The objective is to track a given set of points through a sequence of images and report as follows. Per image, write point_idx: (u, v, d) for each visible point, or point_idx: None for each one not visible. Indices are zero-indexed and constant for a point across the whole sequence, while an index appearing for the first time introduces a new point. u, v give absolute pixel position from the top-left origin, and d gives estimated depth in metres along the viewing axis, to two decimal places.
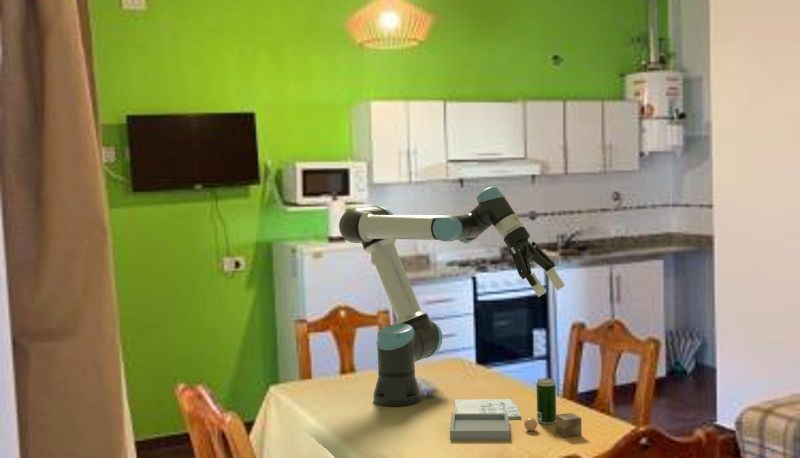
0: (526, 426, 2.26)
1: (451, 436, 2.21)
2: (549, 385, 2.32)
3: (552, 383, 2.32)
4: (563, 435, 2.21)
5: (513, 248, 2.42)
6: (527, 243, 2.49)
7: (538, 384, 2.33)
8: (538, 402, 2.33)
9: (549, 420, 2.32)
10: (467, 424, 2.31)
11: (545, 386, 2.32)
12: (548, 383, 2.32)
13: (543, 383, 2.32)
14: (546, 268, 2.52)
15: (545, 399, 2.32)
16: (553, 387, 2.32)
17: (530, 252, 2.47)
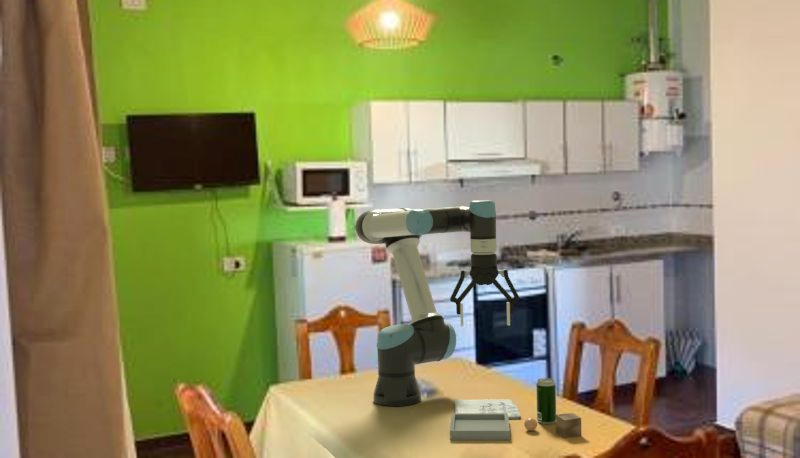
0: (526, 426, 2.26)
1: (451, 436, 2.21)
2: (549, 385, 2.32)
3: (552, 383, 2.32)
4: (563, 435, 2.21)
5: None
6: (490, 270, 2.40)
7: (538, 384, 2.33)
8: (538, 402, 2.33)
9: (549, 420, 2.32)
10: (467, 424, 2.31)
11: (545, 386, 2.32)
12: (548, 383, 2.32)
13: (543, 383, 2.32)
14: None
15: (545, 399, 2.32)
16: (553, 387, 2.32)
17: (484, 281, 2.40)
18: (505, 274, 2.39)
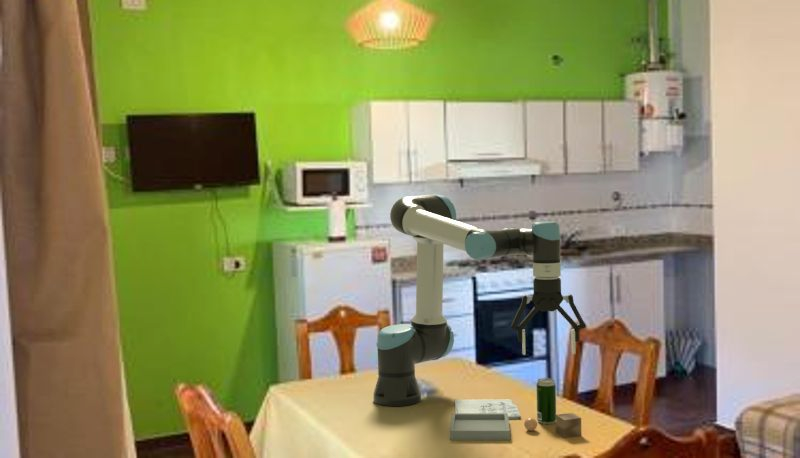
0: (526, 426, 2.26)
1: (451, 436, 2.21)
2: (549, 385, 2.32)
3: (552, 383, 2.32)
4: (563, 435, 2.21)
5: (522, 297, 2.28)
6: (554, 296, 2.27)
7: (538, 384, 2.33)
8: (538, 402, 2.33)
9: (549, 420, 2.32)
10: (467, 424, 2.31)
11: (545, 386, 2.32)
12: (548, 383, 2.32)
13: (543, 383, 2.32)
14: None
15: (545, 399, 2.32)
16: (553, 387, 2.32)
17: (548, 307, 2.27)
18: (570, 300, 2.26)
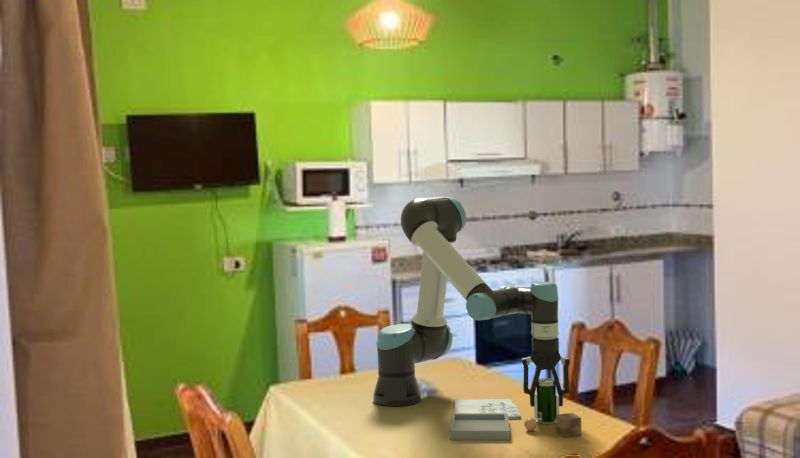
0: (526, 426, 2.26)
1: (451, 436, 2.21)
2: (549, 385, 2.32)
3: (552, 383, 2.32)
4: (563, 435, 2.21)
5: (522, 361, 2.34)
6: (553, 353, 2.32)
7: (538, 384, 2.33)
8: (538, 402, 2.33)
9: (549, 420, 2.32)
10: (467, 424, 2.31)
11: (545, 386, 2.32)
12: (548, 383, 2.32)
13: (543, 383, 2.32)
14: None
15: (545, 399, 2.32)
16: (553, 387, 2.32)
17: (546, 366, 2.33)
18: (566, 363, 2.32)
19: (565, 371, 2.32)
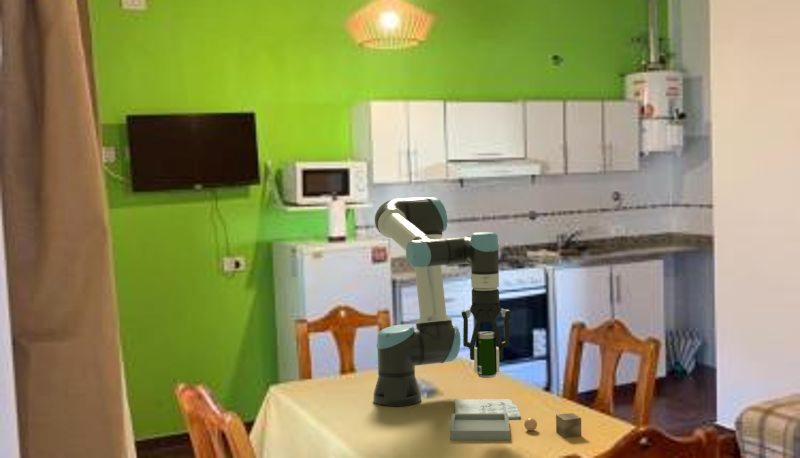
0: (526, 426, 2.26)
1: (451, 436, 2.21)
2: (489, 338, 2.25)
3: (492, 336, 2.26)
4: (563, 435, 2.21)
5: None
6: (494, 305, 2.26)
7: (478, 337, 2.27)
8: (478, 355, 2.27)
9: (489, 374, 2.26)
10: (467, 424, 2.31)
11: (485, 339, 2.25)
12: (488, 335, 2.25)
13: (483, 336, 2.26)
14: None
15: (485, 352, 2.26)
16: (493, 340, 2.26)
17: (486, 318, 2.26)
18: (506, 315, 2.26)
19: (505, 323, 2.26)
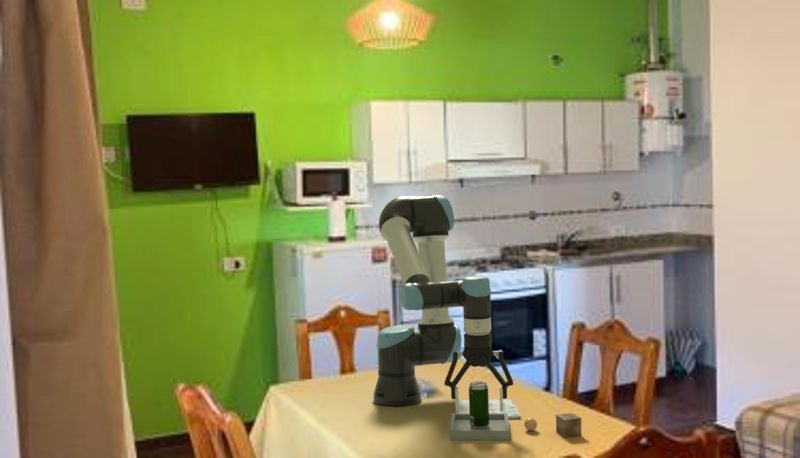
0: (526, 426, 2.26)
1: (451, 436, 2.21)
2: (481, 388, 2.25)
3: (484, 386, 2.26)
4: (563, 435, 2.21)
5: (453, 353, 2.27)
6: (485, 351, 2.26)
7: (470, 388, 2.27)
8: (470, 406, 2.27)
9: (481, 424, 2.26)
10: (467, 424, 2.31)
11: (477, 390, 2.25)
12: (480, 386, 2.25)
13: (475, 386, 2.26)
14: None
15: (477, 403, 2.26)
16: (485, 390, 2.26)
17: (478, 362, 2.26)
18: (500, 356, 2.25)
19: (502, 364, 2.26)
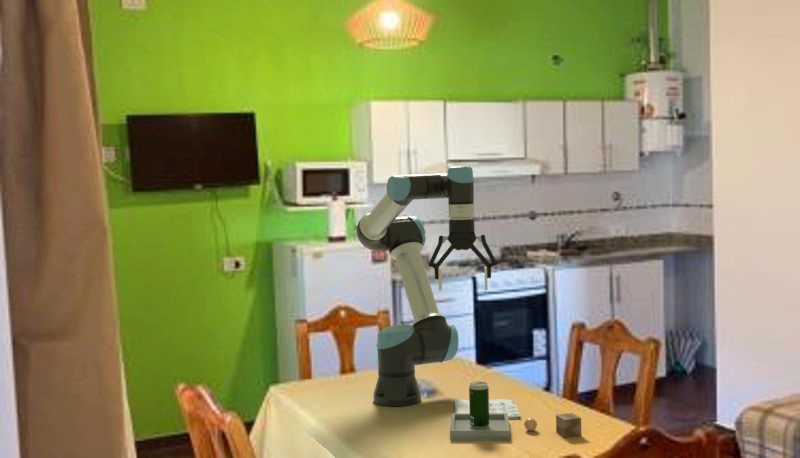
0: (526, 426, 2.26)
1: (451, 436, 2.21)
2: (481, 389, 2.25)
3: (484, 387, 2.26)
4: (563, 435, 2.21)
5: None
6: (468, 235, 2.43)
7: (470, 388, 2.27)
8: (470, 406, 2.27)
9: (481, 425, 2.26)
10: (467, 424, 2.31)
11: (477, 390, 2.25)
12: (480, 387, 2.25)
13: (475, 387, 2.26)
14: None
15: (477, 403, 2.25)
16: (485, 391, 2.26)
17: (462, 246, 2.43)
18: (482, 239, 2.43)
19: (485, 246, 2.43)
